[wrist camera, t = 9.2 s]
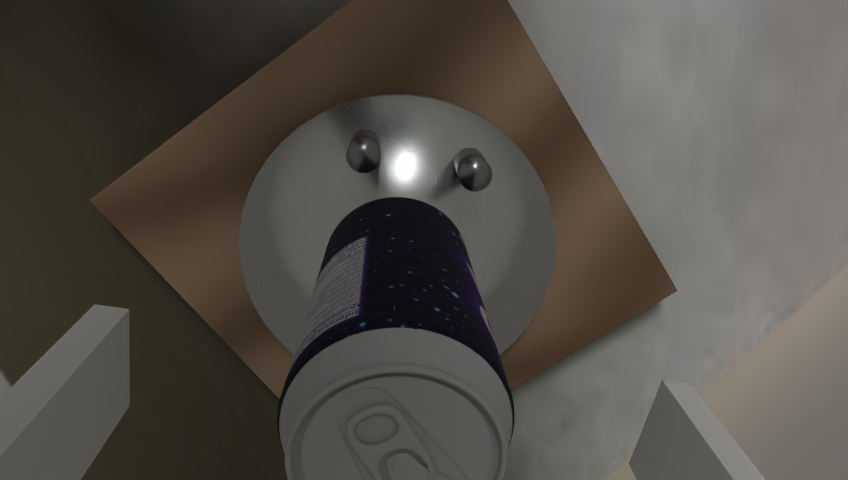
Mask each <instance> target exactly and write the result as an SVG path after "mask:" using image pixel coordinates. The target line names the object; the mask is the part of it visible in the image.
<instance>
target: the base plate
mask: <svg viewBox="0 0 848 480" xmlns="http://www.w3.org/2000/svg"><path fill="white" fill-rule="evenodd" d="M403 92H406V93H414V94H423V95H429V96H433V97H437V98H441V99H445V100H448V101H451V102H453V103H456V104H458V105H461V106H463V107H466V108H468V109H470V110H472V111H473V112H475V113H477V114H479V115H480V116H482V117H484V118H486V119H487V120H488V121H490V122H491V123H492V124H494V125H495V126H496V127H497V128H499V129H500V130H501V131H503V132H504V133H505V134H506V136H507V137H508V138H509V139H510V140H511V141H512V142H513V143H514V144H515V145H516V146H517V147H518V148H519V149H520V150H521V151H522V152H523V153H524V155H525V156H526V158H527V159H528V160H529V162H530V163H531V164H532V166H533V167H534V169H535V171H536V172H537V174H538V176H539V178H540V180H541V182H542V183H543V185H544V188H545V191H546V193H547V196H548V199H549V202H550V204H551V209H552V214H553V218H554V223H555V237H556V248H555V262H554V266H553V271H552V276H551V280H550V283H549V286H548V289H547V291H546V294H545V297H544V299H543V301H542V303H541V305H540V307H539V309H538V311H537V313H536V315H535V316H534V317H533V319H532V320H531V322H530V323H529V325H528V326H527V328H526V329H525V330H524V331H523V333H522V334H521V335H520V336H519V337H518V338H517V339H516V340H515V342H514V343H513V344H512V345H510V346H509V347H508V348H507V349H506V350H505V351H504V352H502V353H501V354H500V355H499V356H500V359H501V362H502V365H503V369H504V372H505V375H506V378H507V382H508V385H509V388H510V390H511V389H513V388H514V387H516V386H518V385H519V384H521V383H523V382H524V381H526V380H528V379H529V378H531V377H533V376H535V375H536V374H538V373H540V372H541V371H543V370H545V369H546V368H548V367H550V366H551V365H553V364H555V363H556V362H558V361H560V360H562V359H563V358H565V357H567V356H568V355H570V354H572V353H573V352H575V351H577V350H578V349H580V348H582V347H583V346H585V345H587V344H589V343H590V342H592V341H594V340H595V339H597V338H599V337H600V336H602V335H604V334H605V333H607V332H609V331H610V330H612V329H614V328H616V327H617V326H619V325H621V324H622V323H624V322H626V321H627V320H629V319H631V318H632V317H634V316H636V315H637V314H639V313H641V312H643V311H644V310H646V309H648V308H649V307H651V306H653V305H654V304H656V303H658V302H659V301H661V300H663V299H664V298H666V297H668V296H670V295H671V294H673V293H675V292H676V291H677V289H676V287H675V286H674V284H673V282H672V280H671V279H670V277H669V275H668V274H667V272H666V270H665V269H664V267H663V265H662V263H661V262H660V260H659V258H658V257H657V255H656V253H655V251H654V250H653V248H652V246H651V245H650V243H649V241H648V240H647V238H646V236H645V234H644V233H643V231H642V229H641V228H640V226H639V224H638V222H637V221H636V219H635V217H634V216H633V214H632V212H631V211H630V209H629V207H628V205H627V204H626V202H625V200H624V199H623V197H622V195H621V193H620V192H619V190H618V188H617V187H616V185H615V183H614V182H613V180H612V178H611V176H610V175H609V173H608V171H607V170H606V168H605V166H604V164H603V163H602V161H601V159H600V158H599V156H598V154H597V152H596V151H595V149H594V147H593V146H592V144H591V142H590V141H589V139H588V137H587V135H586V134H585V132H584V130H583V129H582V127H581V125H580V123H579V122H578V120H577V118H576V117H575V115H574V113H573V112H572V110H571V108H570V106H569V105H568V103H567V101H566V100H565V98H564V96H563V94H562V93H561V91H560V89H559V88H558V86H557V84H556V83H555V81H554V79H553V77H552V76H551V74H550V72H549V71H548V69H547V67H546V65H545V64H544V62H543V60H542V59H541V57H540V55H539V54H538V52H537V50H536V48H535V47H534V45H533V43H532V42H531V40H530V38H529V36H528V35H527V33H526V31H525V30H524V28H523V26H522V25H521V23H520V21H519V19H518V18H517V16H516V14H515V13H514V11H513V9H512V7H511V6H510V4H509V2H508V1H507V0H351V1H349V2H348V3H347V4H345V5H344V6H343V7H341V8H340V9H339V10H337V11H336V12H335V13H334V14H332V15H331V16H330V17H328V18H327V19H326V20H324V21H323V22H322V23H320V24H319V25H318V26H317V27H315V28H314V29H313V30H311V31H310V32H309V33H307V34H306V35H305V36H303V37H302V38H301V39H300V40H298V41H297V42H296V43H294V44H293V45H292V46H290V47H289V48H288V49H286V50H285V51H284V52H283V53H281V54H280V55H279V56H277V57H276V58H275V59H273V60H272V61H271V62H269V63H268V64H267V65H266V66H264V67H263V68H262V69H260V70H259V71H258V72H256V73H255V74H254V75H252V76H251V77H250V78H248V79H247V80H246V81H245V82H243V83H242V84H241V85H239V86H238V87H237V88H235V89H234V90H233V91H231V92H230V93H229V94H228V95H226V96H225V97H224V98H222V99H221V100H220V101H218V102H217V103H216V104H214V105H213V106H212V107H211V108H209V109H208V110H207V111H205V112H204V113H203V114H201V115H200V116H199V117H197V118H196V119H195V120H194V121H192V122H191V123H190V124H188V125H187V126H186V127H184V128H183V129H182V130H180V131H179V132H178V133H177V134H175V135H174V136H173V137H171V138H170V139H169V140H167V141H166V142H165V143H163V144H162V145H161V146H160V147H158V148H157V149H156V150H154V151H153V152H152V153H150V154H149V155H148V156H146V157H145V158H144V159H143V160H141V161H140V162H139V163H137V164H136V165H135V166H133V167H132V168H131V169H129V170H128V171H127V172H126V173H124V174H123V175H122V176H120V177H119V178H118V179H116V180H115V181H114V182H112V183H111V184H110V185H109V186H107V187H106V188H105V189H103V190H102V191H101V192H99V193H98V194H97V195H95V196H94V197H93V198H92V199H90V201H91V202H92V203H93V205H94V206H95V207H96V208H97V209H98V210H99V211H100V212H101V213H102V214H103V215H104V216H105V217H106V218H107V219H108V220H109V221H110V222H111V223H112V224H113V225H114V226H115V228H116V229H117V230H118V231H119V232H120V233H121V234H122V235H123V236H124V237H125V238H126V239H127V240H128V241H129V242H130V243H131V244H132V245H133V246H134V247H135V248H136V250H137V251H138V252H139V253H140V254H141V255H142V256H143V257H144V258H145V259H146V260H147V261H148V262H149V263H150V264H151V265H152V266H153V267H154V268H155V269H156V270H157V272H158V273H159V274H160V275H161V276H162V277H163V278H164V279H165V280H166V281H167V282H168V283H169V284H170V285H171V286H172V287H173V288H174V289H175V290H176V291H177V292H178V293H179V295H180V296H181V297H182V298H183V299H184V300H185V301H186V302H187V303H188V304H189V305H190V306H191V307H192V308H193V309H194V310H195V311H196V312H197V313H198V314H199V315H200V317H201V318H202V319H203V320H204V321H205V322H206V323H207V324H208V325H209V326H210V327H211V328H212V329H213V330H214V331H215V332H216V333H217V334H218V335H219V336H220V337H221V339H222V340H223V341H224V342H225V343H226V344H227V345H228V346H229V347H230V348H231V349H232V350H233V351H234V352H235V353H236V354H237V355H238V356H239V357H240V358H241V359H242V361H243V362H244V363H245V364H246V365H247V366H248V367H249V368H250V369H251V370H252V371H253V372H254V373H255V374H256V375H257V376H258V377H259V378H260V379H261V380H262V381H263V382H264V384H265V385H266V386H267V387H268V388H269V389H270V390H271V391H272V392H273V393H274V394H275V395H276V396H277V397H278V398H279V399H280V397H281V394H282V391H283V387H284V384H285V381H286V378H287V374H288V371H289V368H290V365H291V361H292V358H293V355H294V354H293V353H292V352H290V351H289V350H288V349H287V348H286V347H285V346H284V345H283V344H282V343H281V342H280V341H279V340H278V339H277V338H276V337H275V336H274V335H273V333H272V332H271V331H270V330H269V328H268V327H267V326H266V325H265V323H264V322H263V320H262V318H261V317H260V315H259V314H258V312H257V310H256V309H255V307H254V305H253V302H252V300H251V298H250V295H249V293H248V291H247V288H246V285H245V281H244V277H243V274H242V270H241V262H240V255H239V230H240V224H241V217H242V212H243V208H244V205H245V202H246V198H247V195H248V192H249V190H250V188H251V186H252V184H253V182H254V180H255V178H256V175H257V174H258V172H259V171H260V169H261V168H262V166H263V165H264V163H265V162H266V160H267V159H268V157H269V156H270V155H271V154H272V153H273V151H274V150H275V149H276V148H277V147H278V146H279V145H280V144H281V142H282V141H283V140H284V139H285V138H286V137H287V136H288V135H289V134H291V133H292V132H293V131H294V130H295V129H296V128H298V127H299V126H300V125H301V124H302V123H304V122H305V121H307V120H308V119H310V118H312V117H313V116H315V115H316V114H318V113H319V112H321V111H323V110H325V109H328V108H330V107H332V106H334V105H336V104H339V103H341V102H344V101H348V100H351V99H354V98H358V97H361V96H367V95H373V94H379V93H403Z"/></svg>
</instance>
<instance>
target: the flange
mask: <svg viewBox="0 0 848 480" xmlns="http://www.w3.org/2000/svg"><path fill="white" fill-rule="evenodd" d="M388 197H405V198H412V199H416V200H419V201H422V202H425V203H427V204H430V205H432V206H433V207H435V208H437V209H438V210H440V211H441V212H443V213H444V214H445V215H446V216H447V217H448V218H449V219H450V220H451V221H452V222H453V223H454V224H455V226H456V227H457V229H458V230H459V232H460V234H461V236H462V238H463V240H464V243H465V246H466V249H467V252H468V256H469V259H470V262H471V265H472V269H473V272H474V275H475V278H476V281H477V285H478V288H479V291H480V294H481V298H482V301H483V304H484V307H485V311H486V314H487V317H488V320H489V323H490V327H491V330H492V333H493V336H494V340H495V343H496V346H497V349H498V352H499V355H500V354H501V353H502V352H504V351H505V350H506V349H507V348H508V347H509V346H510V345H512V344H513V343H514V342H515V340H516V339H517V338H518V337H519V336H520V335H521V334H522V333H523V331H524V330H525V329H526V328H527V326H528V325H529V323H530V322H531V320H532V319H533V317H534V316H535V315H536V313H537V311H538V309H539V307H540V305H541V303H542V301H543V299H544V297H545V294H546V291H547V289H548V286H549V283H550V280H551V276H552V271H553V266H554V262H555V248H556V237H555V223H554V218H553V214H552V209H551V204H550V202H549V199H548V196H547V193H546V191H545V188H544V185H543V183H542V182H541V180H540V178H539V176H538V174H537V172H536V171H535V169H534V167H533V166H532V164H531V163H530V162H529V160H528V159H527V158H526V156H525V155H524V153H523V152H522V151H521V150H520V149H519V148H518V147H517V146H516V145H515V144H514V143H513V142H512V141H511V140H510V139H509V138H508V137H507V136H506V134H505V133H504V132H503V131H501V130H500V129H499V128H497V127H496V126H495V125H494V124H492V123H491V122H490V121H488V120H487V119H486V118H484V117H482V116H480V115H479V114H477V113H475V112H473V111H472V110H470V109H468V108H466V107H463V106H461V105H458V104H456V103H453V102H451V101H448V100H445V99H441V98H437V97H433V96H429V95H423V94H414V93H406V92H403V93H379V94H373V95H367V96H361V97H358V98H354V99H351V100H348V101H344V102H341V103H339V104H336V105H334V106H332V107H330V108H328V109H325V110H323V111H321V112H319V113H318V114H316V115H315V116H313V117H312V118H310V119H308V120H307V121H305V122H304V123H302V124H301V125H300V126H299V127H298V128H296V129H295V130H294V131H293V132H292V133H291V134H289V135H288V136H287V137H286V138H285V139H284V140H283V141H282V142H281V144H280V145H279V146H278V147H277V148H276V149H275V150H274V151H273V153H272V154H271V155H270V156H269V157H268V159H267V160H266V162H265V163H264V165H263V166H262V168H261V169H260V171H259V172H258V174H257V175H256V178H255V180H254V182H253V184H252V186H251V188H250V190H249V192H248V195H247V198H246V202H245V205H244V208H243V212H242V217H241V224H240V230H239V255H240V262H241V270H242V274H243V277H244V281H245V285H246V288H247V291H248V293H249V295H250V298H251V300H252V302H253V305H254V307H255V309H256V310H257V312H258V314H259V315H260V317H261V318H262V320H263V322H264V323H265V325H266V326H267V327H268V328H269V330H270V331H271V332H272V333H273V335H274V336H275V337H276V338H277V339H278V340H279V341H280V342H281V343H282V344H283V345H284V346H285V347H286V348H287V349H288V350H289V351H290V352H292V353H293V354H294V352H295V348H296V345H297V342H298V339H299V336H300V332H301V329H302V326H303V323H304V319H305V316H306V313H307V310H308V306H309V303H310V300H311V297H312V293H313V290H314V287H315V284H316V280H317V277H318V274H319V271H320V267H321V264H322V261H323V258H324V254H325V251H326V248H327V245H328V242H329V239H330V237H331V235H332V233H333V231H334V230H335V228H336V227H337V225H338V224H339V223H340V222H341V221H342V219H343V218H345V217H346V216H347V215H348V214H349V213H350V212H352V211H353V210H354V209H356V208H358V207H359V206H361V205H363V204H365V203H368V202H370V201H373V200H377V199H381V198H388Z"/></svg>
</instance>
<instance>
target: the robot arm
mask: <svg viewBox="0 0 848 480" xmlns="http://www.w3.org/2000/svg"><path fill="white" fill-rule="evenodd" d="M128 408H129V309H125V308H117V307H110V306H102V305H94V306H93V307H92V308H91V309H90V310H89V311H88V312H87V313H86V314H85V315H84V316H83V317H82V318H81V319H80V320H78V321H77V322H76V323H75V324H74V325H73V326H72V327H71V328H70V329H69V330H68V331H67V332H66V333H65V334H64V335H63V336H62V337H61V338H60V339H59V340H58V341H57V342H56V343H55V344H54V345H53V346H52V347H51V348H50V349H49V350H48V351H47V352H46V353H45V354H44V355H43V356H42V357H41V358H40V359H39V360H38V361H37V362H36V363H35V364H34V365H33V366H32V367H31V368H30V369H29V370H28V371H27V372H26V373H25V374H24V375H23V376H22V377H21V378H20V379H19V380H18V381H17V382H16V383H15V384H14V385H13V386H12V387H11V388H10V389H9V390H8V391H7V392H6V393H5V394H4V395H3V396H2V397H1V398H0V480H81V478H82V477H83V475H84V474H85V472H86V471H87V469H88V468H89V466H90V465H91V463H92V462H93V460H94V459H95V457H96V456H97V454H98V453H99V451H100V450H101V448H102V447H103V445H104V444H105V442H106V441H107V439H108V438H109V436H110V435H111V433H112V432H113V430H114V429H115V427H116V426H117V424H118V423H119V421H120V420H121V418H122V417H123V415H124V414H125V412H126V411H127V409H128ZM629 465H630V467H631V469H632V470H633V473H634V475H635V476H636V478H637V480H765V479H764V478H763V476H762V475H761V474H760V473H759V471H758V470H757V469H756V467H755V466H754V465H753V464H752V462H751V461H750V460H749V458H748V457H747V456H746V455H745V453H744V452H743V451H742V449H741V448H740V447H739V446H738V444H737V443H736V442H735V440H734V439H733V438H732V437H731V436H730V434H729V433H728V432H727V430H726V429H725V428H724V426H723V425H722V424H721V423H720V422H719V420H718V419H717V418H716V416H715V415H714V414H713V412H712V411H711V410H710V408H709V407H708V406H707V405H706V403H705V402H704V401H703V400H702V398H701V397H700V396H699V394H698V393H697V392H696V391H695V389H694V388H693V387H692V385H691V384H688V383H681V382H673V381H666V380H662V382H661V385H660V387H659V390H658V392H657V395H656V397H655V400H654V402H653V405H652V407H651V410H650V412H649V415H648V417H647V420H646V422H645V425H644V427H643V430H642V432H641V435H640V437H639V440H638V442H637V445H636V447H635V450H634V452H633V455H632V457H631V460H630V462H629Z"/></svg>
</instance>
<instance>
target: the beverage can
mask: <svg viewBox="0 0 848 480" xmlns="http://www.w3.org/2000/svg"><path fill="white" fill-rule="evenodd" d="M277 426H278V434H279V439H280V443H281V446H282V449H283V451H284V454H285V458H284V459H285V469H286V474H287V479H288V480H503V478H504V475H505V471H506V466H507V458H508V447H509V445H510V441H511V438H512V434H513V429H514V404H513V399H512V395H511V391H510V388H509V385H508V382H507V378H506V375H505V372H504V369H503V365H502V362H501V359H500V356H499V352H498V349H497V346H496V343H495V340H494V336H493V333H492V330H491V327H490V323H489V320H488V317H487V314H486V311H485V307H484V304H483V301H482V298H481V294H480V291H479V288H478V285H477V281H476V278H475V275H474V272H473V269H472V265H471V262H470V259H469V256H468V252H467V249H466V246H465V243H464V240H463V238H462V236H461V234H460V232H459V230H458V229H457V227H456V226H455V224H454V223H453V222H452V221H451V220H450V219H449V218H448V217H447V216H446V215H445V214H444V213H443V212H441V211H440V210H438V209H437V208H435V207H433V206H432V205H430V204H427V203H425V202H422V201H419V200H416V199H412V198H405V197H388V198H381V199H377V200H373V201H370V202H368V203H365V204H363V205H361V206H359V207H358V208H356V209H354V210H353V211H352V212H350V213H349V214H348V215H347V216H346V217H345V218H343V219H342V221H341V222H340V223H339V224H338V225H337V227H336V228H335V230H334V231H333V233H332V235H331V237H330V239H329V242H328V245H327V248H326V251H325V254H324V258H323V261H322V264H321V267H320V271H319V274H318V277H317V280H316V284H315V287H314V290H313V293H312V297H311V300H310V303H309V306H308V310H307V313H306V316H305V319H304V323H303V326H302V329H301V332H300V336H299V339H298V342H297V345H296V348H295V352H294V355H293V358H292V361H291V365H290V368H289V371H288V374H287V378H286V381H285V384H284V387H283V391H282V394H281V397H280V401H279V406H278V413H277Z"/></svg>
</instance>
